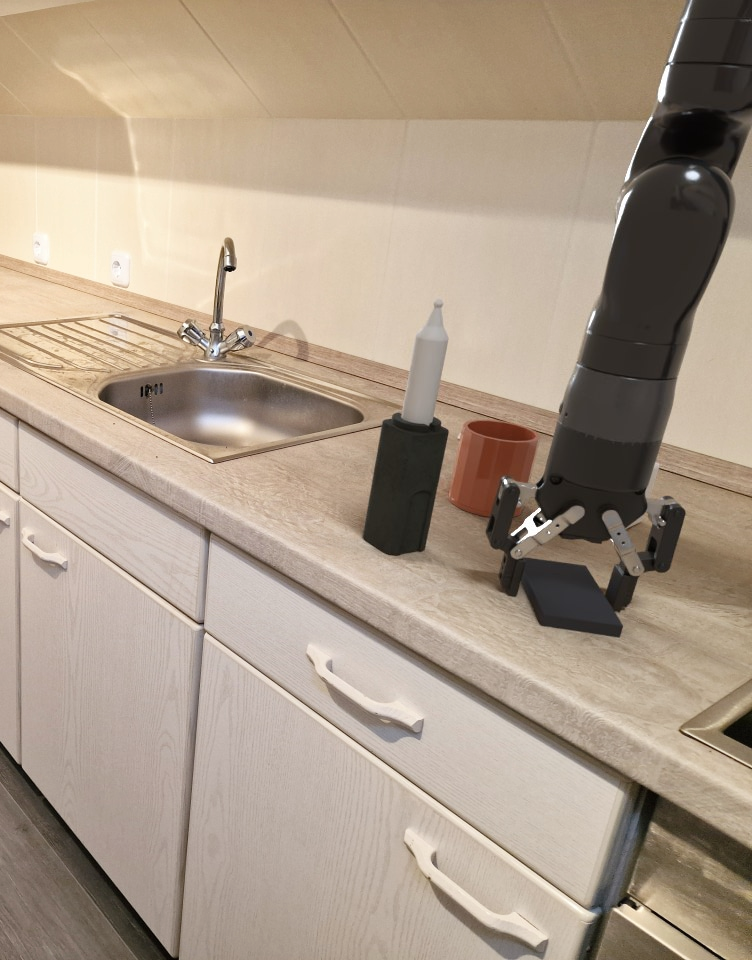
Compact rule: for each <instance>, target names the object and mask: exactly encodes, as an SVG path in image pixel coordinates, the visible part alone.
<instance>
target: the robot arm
mask: <svg viewBox="0 0 752 960" xmlns="http://www.w3.org/2000/svg"><path fill="white" fill-rule="evenodd" d="M751 130H752V0H685V1H684V3H683V6H682V9H681V12H680V14H679V18H678V21H677V24H676V27H675V30H674V33H673V36H672V39H671V42H670V45H669V48H668V51H667V54H666V57H665V59H664V65H663V66H662V70H661V73H660V76H659V81H658V84H657V89H656V93H655V98H654V102H653V106H652V110H651V112H650V115H649V117H648V120H647V122H646V124H645V127H644V128H643V131H642V134H641V136H640V138H639V141H638V143H637V146H636V148H635V151H634V153H633V156H632V158H631V161H630V163H629V165H628V169H627V171H626V174H625V176H624V179H623V181H622V184H621V187H620V190H619V193H618V195H617V198H616V202H615V206H614V213H613V214H614V215H613V216H614V217H613V219H614V224H615V225H614V230H613V237H612V240H611V245H610V250H609V254H608V257H607V262H606V267H605V271H604V276H603V280H602V285H601V288H600V293H599V295H598V296H597V297H596V299H595V300H594V302H593V304H592V307H591V310H590V312H589V315H588V318H587V321H586V324H585V328H584V332H583V335H582V339H581V343H580V347H579V351H578V354H577V358H576V362H575V365H574V368H573V370H572V373H571V375H570V377H569V379H568V381H567V384H566V386H565V387H566V388H565V390H564V394H563V398H562V400H561V402H560V404H559V407H558V417H557V421H556V425H555V428H554V431H553V432H554V433H553V437H552V439H551V443H550V447H549V451H548V456H547V459H546V463H545V468H544V472H543V474H542V476H541V477H540V479H539V480H537V482H536V483H531V482H530V483H524V482H518V481H515V480H514V478H513V477H512V476H508V475H507V476H503V477H502V478H501V479H500V482H499V485H498V489H497V492H496V496H495V499H494V503H493V507H492V510H491V514H490V517H488V521H487V524H486V528H485V536H486V538H487V540H488V543H489V545H490V547H491V548H492V549H494V550H499V551H502V552H503V556H502V560H501V564H500V567H499V573H498V582H499V584H500V586H501V588H502V589H503V590H505V593H506V596H508V597H515V598H516V597H517V596H518V593H519V589H520V586H521V578H522V574H523V571H524V567H525V563H526V560H525V558H524V557H527V556H528V555H529V554H530V553H532V552H533V551H534V550H535V549H536V548H538V547H539V546H544V545H546V544H548V543H549V542H550V541H551V540H553V539H554V538H555V537H556V536H559V537H560V538H561V540H570V541H575V540H584V541H586V542H588V543H591V544H597V545H602V544H603V542H607V541H609V542H610V544H611V545H612V547H613V550H614V552H615V553H616V555H617V557H618V559H619V563H614V565H613V568H612V571H611V574H610V578H609V580H608V584H607V588H606V591H605V594H604V596H605V597H606V599H607V600H608V602H609V604H610V605H611V607H612V609H613V610H614V612H615V613H621V611H622V608H627V607H628V606H629V605H630V604H632V603H631V602H632V599H633V596H634V592H635V590H636V588H637V584H638V581H639V578H640V576H641V575H643V574H644V573H648V572H656V573H660V574H664V573H666V572H668V571H669V570H670V569H671V566H672V563H673V559H674V555H675V553H676V549H677V545H678V542H679V538H680V535H681V531H682V528H683V525H684V521H685V517H686V513H687V512H686V509H685V508H684V507H683V506H682V505H681V504H680V502H679V501H678V500H676V499H675V498H674V497H673V496H671V495H664V496H662V497H660V498H659V499H658V498H651V497H650V498H646V497H645V491H646V488H647V486H648V484H649V481H650V478H651V475H652V472H653V468H654V465H655V462H657V459H658V456H659V452H660V449H661V445H662V442H663V439H664V436H665V433H666V429H667V426H668V423H669V419H670V417H671V413H672V410H673V406H674V401H675V395H676V388H677V382H678V378H679V375H680V372H681V367H682V364H683V361H684V359H685V356H686V352H687V349H688V345H689V341H690V339H691V335H692V331H693V327H694V326H693V325H694V321H695V316H696V313H697V310H698V307H699V305H700V303H701V301H702V299H703V297H704V295H705V293H706V291H707V288H708V286H709V284H710V282H711V280H712V278H713V275H714V273H715V271H716V268H717V266H718V265H719V262H720V259H721V256H722V253H723V251H724V249H725V246H726V243H727V241H728V237H729V235H730V232H731V230H732V225H733V222H734V217H735V214H736V205H737V200H736V191H735V187H734V185H733V183H732V181H733V177H734V174H735V171H736V169H737V166H738V164H739V161H740V159H741V156H742V153H743V150H744V148H745V145H746V143H747V139H748V136H749V135H750V131H751ZM531 499H534V500H535V502H536V504H537V506H538V509H537V510H535V511H534V512H532V514H530V515H529V516H528V517H526V518H525V520H524V522H523V524H522V525H520V526H519V527H518V528H517V529H516V530H514V531H513V532H512V533H511V534H510V529H511V526H512V522H513V519H514V517H513V516H514V513H515V509H516V508H520V507H522V506H523V505H524V506H525V504H526V502H527V501H528V500H531ZM645 512H646V513H647V519H648V521H650V523H651V524H652V525H651V527H650V531H649V535H648V539H647V541H646V544H645V545H646V546H645V549H644V550H643V551H637V549H636V547H635V545H634V543H633V540H632V539H631V536H630V535H629V533H628V531H627V529H628V528H627V527H628V526H629V525H631V524H632V523H633V522H635V521H636V520H637V519H639V518H640V517H641V516H643V515H644V514H645V515H646V513H645ZM625 528H627V529H625Z"/></svg>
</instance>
